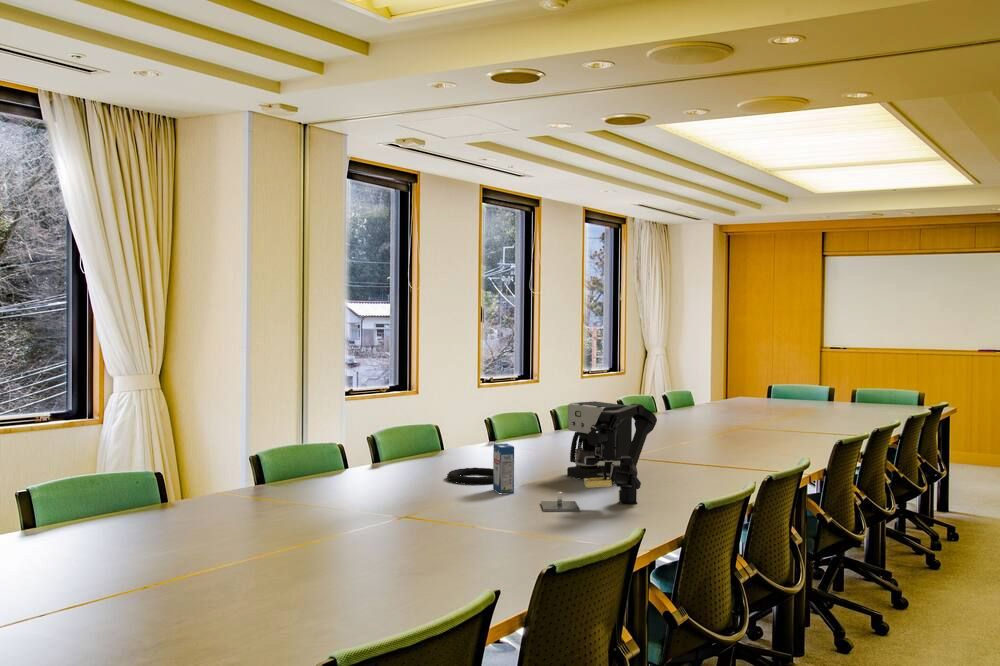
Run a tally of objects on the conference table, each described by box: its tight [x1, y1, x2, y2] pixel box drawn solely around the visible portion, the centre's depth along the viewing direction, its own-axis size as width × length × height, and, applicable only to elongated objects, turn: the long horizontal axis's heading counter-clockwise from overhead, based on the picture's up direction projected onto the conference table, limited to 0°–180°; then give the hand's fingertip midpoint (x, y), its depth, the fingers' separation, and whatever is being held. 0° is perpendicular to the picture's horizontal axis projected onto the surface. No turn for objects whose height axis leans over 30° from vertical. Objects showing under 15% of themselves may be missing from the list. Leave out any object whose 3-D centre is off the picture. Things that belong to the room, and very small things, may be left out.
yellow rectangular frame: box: [583, 477, 613, 489], centre depth 342 cm, size 10×6×2 cm, turn 92°
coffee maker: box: [566, 400, 633, 483], centre depth 406 cm, size 28×20×35 cm
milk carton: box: [492, 443, 515, 494], centre depth 371 cm, size 10×6×20 cm, turn 18°
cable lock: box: [446, 467, 493, 485], centre depth 399 cm, size 28×4×30 cm
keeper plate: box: [540, 491, 581, 512], centre depth 341 cm, size 14×14×6 cm
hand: (608, 482), depth 342 cm, fingers closed on yellow rectangular frame, 1 cm apart
